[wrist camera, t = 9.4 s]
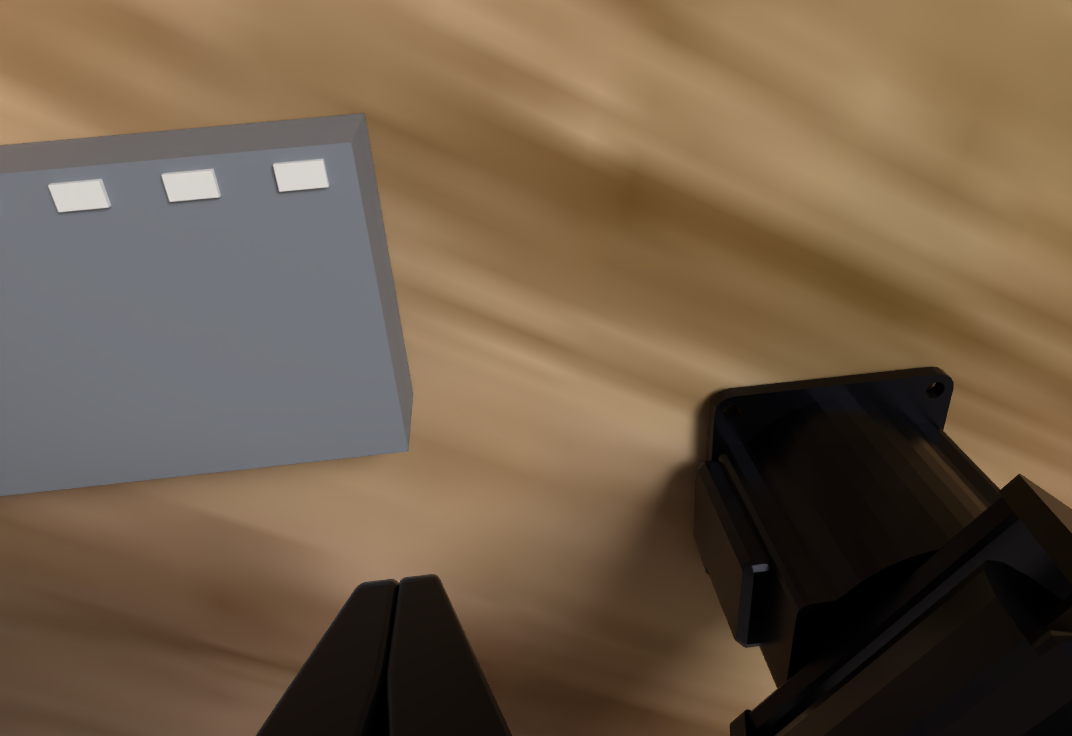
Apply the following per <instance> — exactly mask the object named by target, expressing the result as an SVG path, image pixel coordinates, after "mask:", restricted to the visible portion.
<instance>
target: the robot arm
mask: <svg viewBox="0 0 1072 736" xmlns="http://www.w3.org/2000/svg"><path fill="white" fill-rule="evenodd" d="M933 383H936V384H935V386H934V387H932V388H931V389H929V390H927V388H928V387H929V386H930V385H931V384H933ZM953 383H954V382H953V381H952V379H951V377H950V376H949V375H947V374H946V373H945V372H944V371H943V370H942V369H940V368H938V367H923V368H914V369H905V370H896V371H886V372H877V373H868V374H859V375H849V376H840V377H831V378H822V379H812V380H803V381H794V382H785V383H775V384H766V385H757V386H748V387H739V388H729V389H726V390H722V391H721V392H719V393H718V394H716V395H715V396H714V398H713V399H712V401H711V404H710V413H709V431H708V448H707V461H703V462H702V463H701V465H700V466H699V467H698V469H697V470H696V488H695V508H694V529H693V534H694V538H695V541H696V543H697V546H698V548H699V551H700V553H701V559H702V563H703V566H704V568H705V571H706V573H707V574H708V575H709V576H710V579H711V581H712V584H713V586H714V589H715V591H716V594H717V596H718V599H719V601H720V604H721V606H722V609H723V611H724V614H725V616H726V619H727V621H728V624H729V626H730V629H731V632H732V634H733V637H734V639H735V640H736V641H737V642H738V643H739V644H741V645H742V646H743V647H745V648H747V647H755V646H759V647H760V649H761V651H762V654H763V656H764V659H765V661H766V663H767V666H768V668H769V670H770V673H771V675H772V677H773V680H774V682H775V684H776V687H777V689H776V690H775V691H774V692H773V693H772V694H771V695H769V696H768V697H767V698H766V699H765V700H764V701H762V702H761V703H760V704H759V705H758V706H757V707H755V708H754V709H753V710H752V711H751V710H745V711H744V712H743V713H742V714H741V715H739V716H738V717H737V718H736V719H735V720H734V721H732V722H731V723H730V736H1072V509H1071V508H1069V507H1068V506H1066V505H1065V504H1063V503H1062V502H1061V501H1059V500H1058V499H1056V498H1055V497H1053V496H1052V495H1050V494H1049V493H1047V492H1046V491H1044V490H1043V489H1042V488H1040V487H1039V486H1037V485H1036V484H1034V483H1033V482H1031V481H1030V480H1028V479H1027V478H1026V477H1024V476H1023V475H1021V474H1018V475H1017V476H1016V477H1015V478H1014V479H1013V480H1011V481H1010V482H1009V483H1008V484H1007V485H1006V486H1004V487H1003V488H1002V489H1001V490H1000V489H999V488H998V487H997V486H996V485H995V484H994V483H993V482H992V481H991V480H990V479H989V478H988V477H987V475H986V474H985V473H984V472H983V471H982V470H981V469H980V468H979V467H978V466H977V465H976V464H975V463H974V462H973V461H972V460H971V459H970V458H969V457H968V456H967V455H966V454H965V453H964V452H963V451H962V450H961V449H960V448H959V447H958V446H957V445H956V444H955V443H954V441H953V440H952V439H951V438H950V437H949V436H948V435H947V434H946V433H945V432H944V431H943V429H944V425H945V421H946V417H947V413H948V408H949V404H950V400H951V396H952V392H953ZM733 404H736V405H737V407H736V408H735V409H734V410H733V411H730V412H724V410H725V409H726V408H727V407H728V406H730V405H733ZM256 736H512V734H511V732H510V730H509V728H508V725H507V723H506V721H505V719H504V717H503V715H502V712H501V710H500V708H499V706H498V704H497V702H496V699H495V697H494V695H493V693H492V691H491V689H490V686H489V684H488V682H487V680H486V678H485V676H484V673H483V671H482V669H481V667H480V665H479V663H478V660H477V658H476V656H475V654H474V652H473V650H472V647H471V645H470V643H469V641H468V639H467V637H466V634H465V632H464V630H463V628H462V626H461V624H460V621H459V619H458V617H457V615H456V613H455V611H454V608H453V606H452V604H451V602H450V600H449V597H448V595H447V593H446V591H445V589H444V587H443V584H442V582H441V580H440V578H439V577H438V576H437V575H435V574H430V575H421V576H413V577H405V578H403V579H402V580H401V581H400V583H398V581H396V580H394V579H387V580H379V581H371V582H364V583H361V584H360V585H358V586H357V587H356V589H355V590H354V591H353V593H352V594H351V596H350V597H349V599H348V600H347V602H346V603H345V605H344V606H343V608H342V609H341V611H340V612H339V614H338V615H337V617H336V618H335V620H334V621H333V622H332V624H331V625H330V627H329V628H328V630H327V631H326V633H325V634H324V636H323V637H322V639H321V640H320V642H319V643H318V645H317V646H316V648H315V649H314V651H313V652H312V653H311V655H310V656H309V658H308V659H307V661H306V662H305V664H304V665H303V667H302V668H301V670H300V671H299V673H298V674H297V676H296V677H295V679H294V680H293V682H292V683H291V684H290V686H289V687H288V689H287V690H286V692H285V693H284V695H283V696H282V698H281V699H280V701H279V702H278V704H277V705H276V707H275V708H274V710H273V711H272V713H271V714H270V715H269V717H268V718H267V720H266V721H265V723H264V724H263V726H262V727H261V729H260V730H259V732H258V733H257V735H256Z"/></svg>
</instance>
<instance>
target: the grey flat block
mask: <svg viewBox="0 0 1072 736" xmlns="http://www.w3.org/2000/svg"><path fill="white" fill-rule="evenodd" d="M412 401H413V390H412V385H411V379H410V373H409V367H408V362H407V356H406V350H405V344H404V339H403V333H402V327H401V321H400V315H399V310H398V304H397V298H396V292H395V287H394V281H393V275H392V269H391V264H390V258H389V252H388V246H387V241H386V235H385V229H384V223H383V217H382V212H381V206H380V200H379V194H378V189H377V183H376V177H375V171H374V166H373V160H372V154H371V148H370V143H369V137H368V131H367V125H366V119H365V114H364V113H361V114H350V115H339V116H327V117H316V118H305V119H294V120H282V121H271V122H260V123H248V124H237V125H226V126H214V127H203V128H192V129H180V130H169V131H158V132H146V133H135V134H124V135H113V136H101V137H90V138H79V139H67V140H56V141H45V142H33V143H22V144H11V145H0V496H7V495H17V494H26V493H35V492H44V491H53V490H62V489H71V488H80V487H89V486H98V485H107V484H117V483H126V482H135V481H144V480H153V479H162V478H171V477H180V476H189V475H198V474H207V473H216V472H226V471H235V470H244V469H253V468H262V467H271V466H280V465H289V464H298V463H307V462H316V461H325V460H335V459H344V458H353V457H362V456H371V455H380V454H389V453H398V452H407V451H409V438H410V426H411V413H412Z"/></svg>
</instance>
